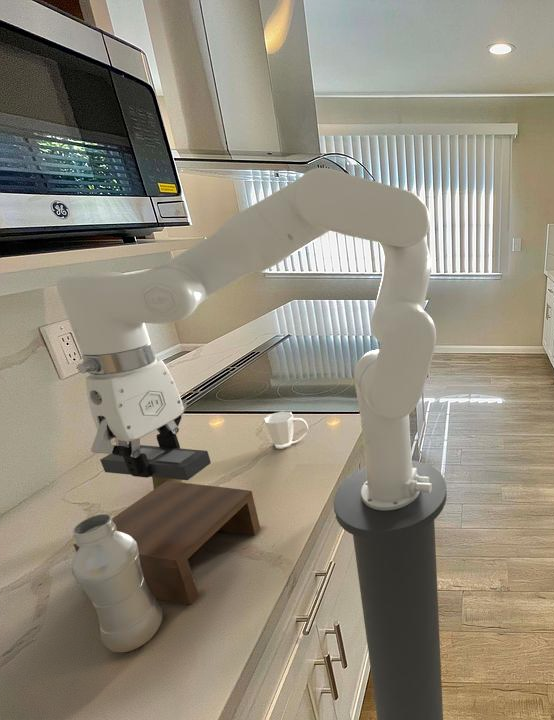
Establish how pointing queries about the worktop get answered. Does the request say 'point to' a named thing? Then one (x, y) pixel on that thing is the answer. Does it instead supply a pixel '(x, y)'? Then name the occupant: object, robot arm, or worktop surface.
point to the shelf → (182, 531)
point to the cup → (282, 428)
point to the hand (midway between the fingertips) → (157, 464)
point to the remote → (163, 462)
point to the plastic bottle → (115, 584)
